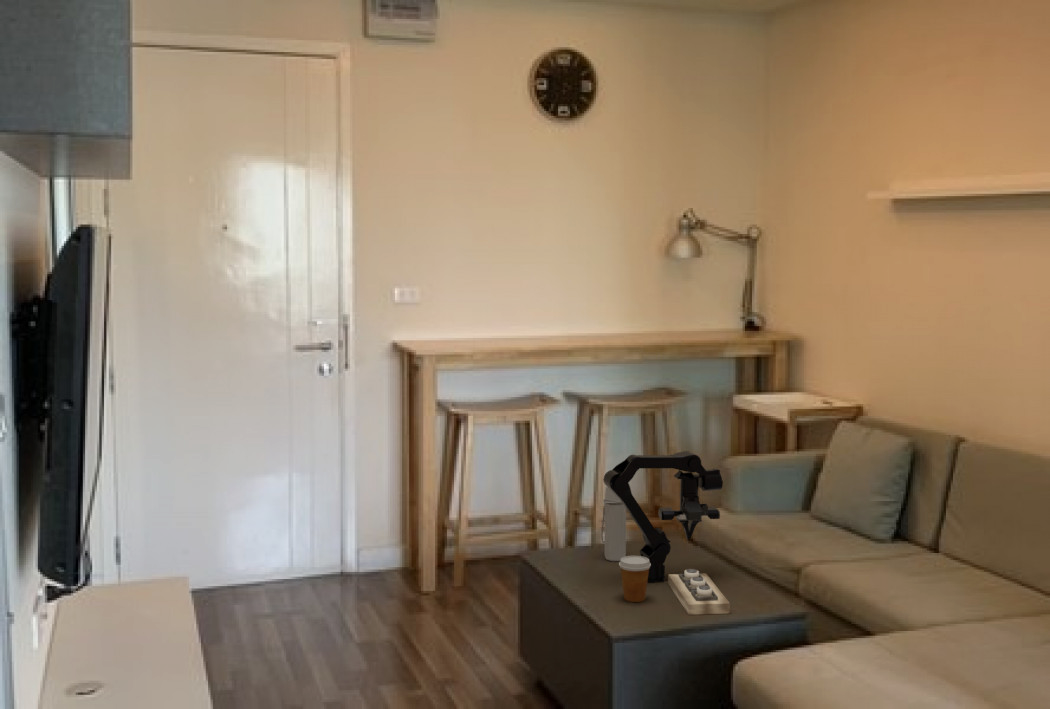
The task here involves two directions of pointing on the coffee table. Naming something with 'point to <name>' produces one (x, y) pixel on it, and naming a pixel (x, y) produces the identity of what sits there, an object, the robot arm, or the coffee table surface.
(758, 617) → the coffee table surface
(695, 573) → the back knob
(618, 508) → the water bottle
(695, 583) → the middle knob
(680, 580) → the knob console
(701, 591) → the front knob
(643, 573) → the disposable coffee cup
